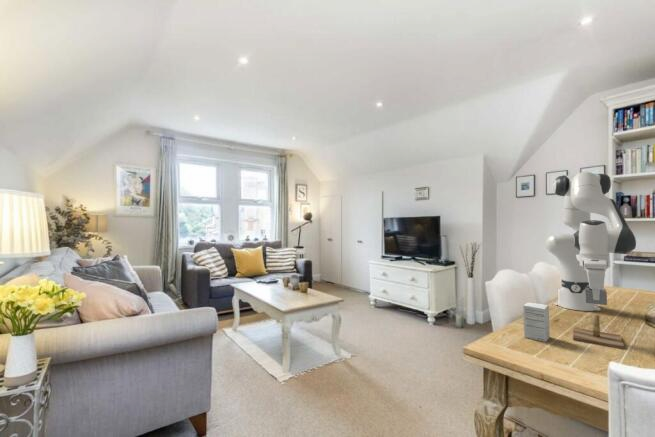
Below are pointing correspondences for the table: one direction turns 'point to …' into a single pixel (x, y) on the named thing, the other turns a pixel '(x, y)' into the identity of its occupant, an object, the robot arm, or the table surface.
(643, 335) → the table surface
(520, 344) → the table surface
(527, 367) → the table surface
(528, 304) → the supplement box
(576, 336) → the post board
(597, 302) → the collar
